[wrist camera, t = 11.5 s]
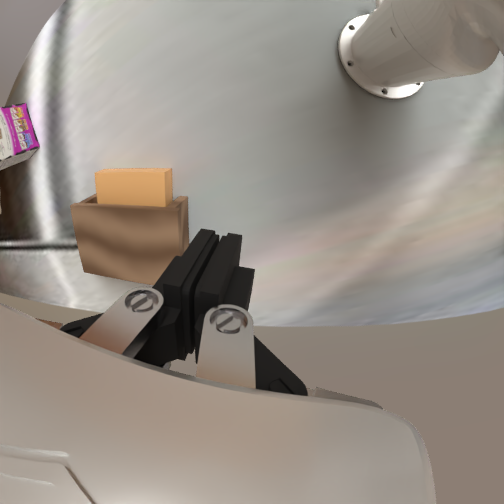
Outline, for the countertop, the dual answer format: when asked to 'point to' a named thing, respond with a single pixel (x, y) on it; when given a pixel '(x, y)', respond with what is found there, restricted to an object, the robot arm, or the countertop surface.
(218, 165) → the countertop surface
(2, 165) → the candy bar box
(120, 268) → the walnut shelf
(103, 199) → the orange cover
